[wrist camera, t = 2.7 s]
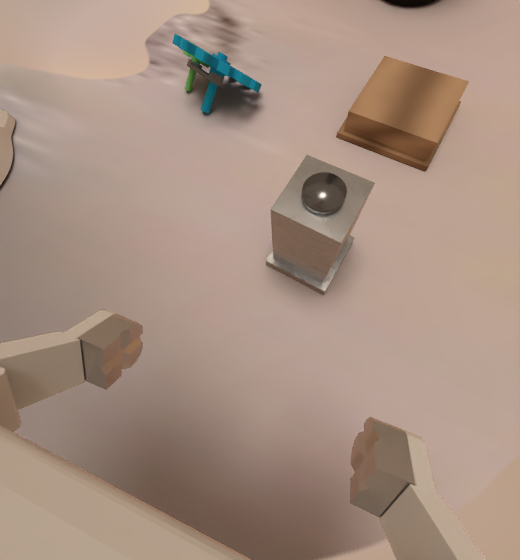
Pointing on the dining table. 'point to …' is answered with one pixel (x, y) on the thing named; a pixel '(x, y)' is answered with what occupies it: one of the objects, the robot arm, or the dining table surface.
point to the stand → (403, 112)
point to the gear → (211, 70)
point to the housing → (316, 222)
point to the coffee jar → (410, 2)
